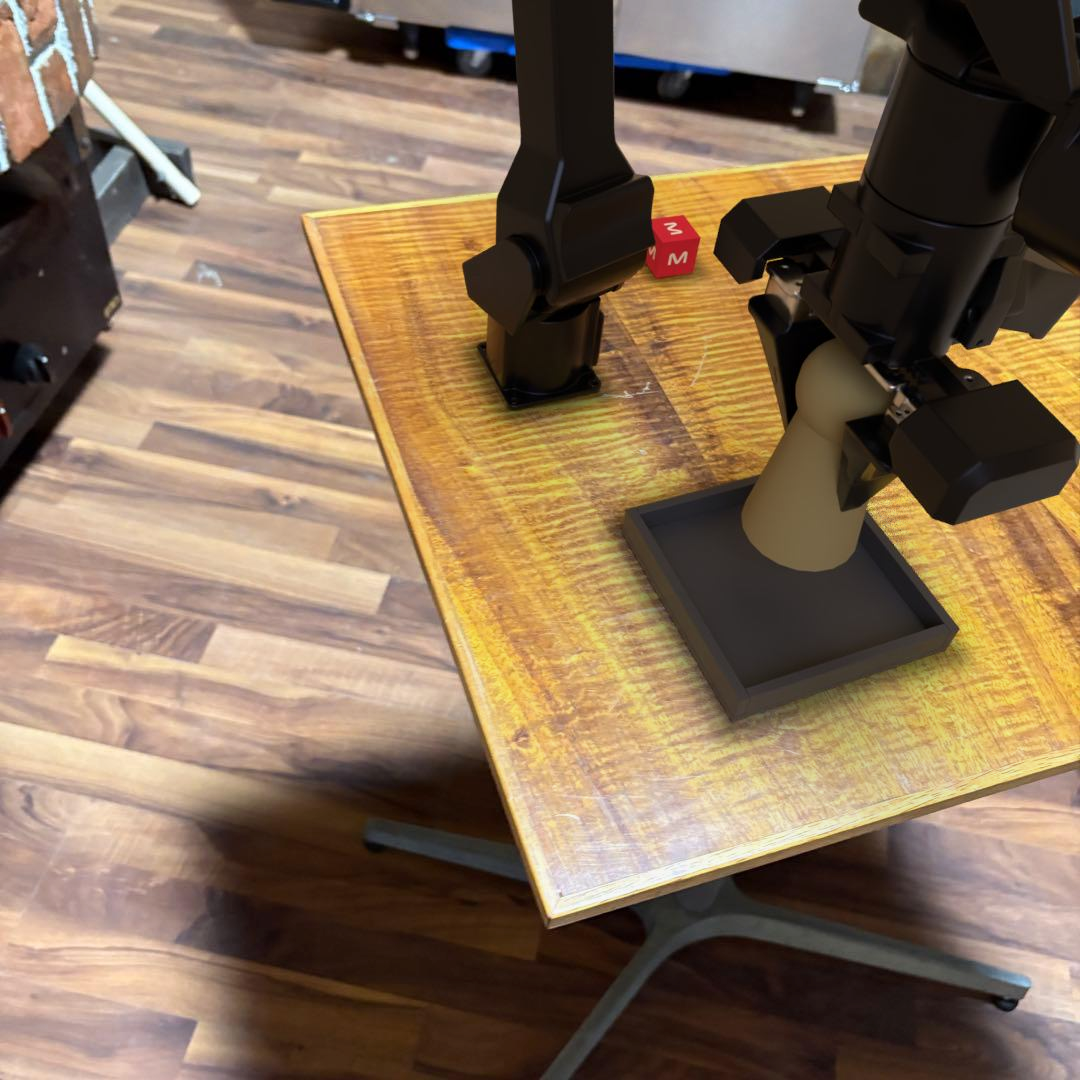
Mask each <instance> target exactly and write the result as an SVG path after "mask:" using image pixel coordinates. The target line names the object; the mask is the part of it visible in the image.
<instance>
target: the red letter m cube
mask: <svg viewBox="0 0 1080 1080" xmlns="http://www.w3.org/2000/svg"><path fill="white" fill-rule="evenodd" d="M652 229H653V233H654V237H655V241H656V245H655V246H652V247H650V248H648V251H647V258H646V262H645V263H646V264H645V265H647V267H648V268H649V270H650V271H651V273H652V274H653V276H654V277H655V278H656V279H659V278H667V277H673V276H679V275H686V274H692V273H694V270H695V265H696V261H697V257H698V251H699V247H700V242H701V236H700V235H699V233H698V232H697V231H696V229H695V228H694V226H693V225H692V224H691V223H690V221H689V220H688V219H687V217H686V216H685V215H684V214H679V215H672V216H665V217H657V218H652Z"/></svg>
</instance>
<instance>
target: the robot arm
mask: <svg viewBox="0 0 1080 1080" xmlns="http://www.w3.org/2000/svg"><path fill="white" fill-rule="evenodd" d="M614 3H615V2H614V0H511V10H512V27H513V41H514V55H515V57H514V58H515V70H516V71H515V72H516V73H515V74H516V86H517V88H516V89H517V100H518V117H519V118H518V119H519V134H520V138H519V139H520V141H519V143H520V144H519V146H518V149H517V150H516V154H515V156H514V157H513V161H512V163H511V164H510V167H509V169H508V172H507V174H506V176H505V177H504V180H503V183H502V185H501V186H500V189H499V192H498V194H497V197H496V203H495V206H496V207H495V214H496V215H495V243H494V245H492V246H490V247H488V248H486V249H484V250H482V251H481V252H479V253H478V254H476V255H474V256H472V257H471V258H468V259H467V260H464V261H463V262H462V264H461V269H462V275H463V279H464V284H465V289H466V293H467V297H468V298H469V299H470V301H472V302H473V303H474V304H475V305H477V306H478V307H479V309H481V310H482V311H483V312H484V313H485V314H486V315H487V321H486V341H481V342H479V343H478V344H477V345H476V353H477V355H478V358H479V359H480V361H481V363H482V365H483V367H484V369H485V370H486V372H487V374H488V376H489V378H490V380H491V382H492V384H493V385H494V387H495V389H496V391H497V392H498V394H499V396H500V398H501V400H502V402H503V404H504V406H505V407H506V408H507V409H508V410H509V411H511V412H512V411H513V412H516V411H517V412H518V411H521V410H526V409H530V408H535V407H539V406H543V405H544V406H545V405H548V404H552V403H557V402H562V401H567V400H573V399H576V398H580V397H584V396H590V395H593V394H598V393H600V392H601V389H602V381H601V380H600V378H599V377H598V375H597V373H596V372H595V370H594V369H593V367H596V366H598V364H599V361H600V353H601V346H602V339H603V332H604V326H605V318H606V316H605V313H604V312H603V311H602V309H601V301H602V298H601V297H602V296H604V295H607V294H609V293H615V292H618V291H620V290H621V289H622V288H623V286H624V284H625V283H626V282H627V281H629V280H631V279H632V278H633V277H635V276H636V274H638V273H639V271H641V270H643V268H644V267H645V265H646V264H645V263H646V258H647V251H648V248H650V247H652V246H655V245H656V241H655V237H654V233H653V229H652V219H653V218H652V217H653V214H652V213H653V206H654V205H653V204H654V198H655V192H656V191H655V189H656V188H655V185H654V183H653V179H652V178H651V177H650V176H649V175H646V174H640V173H636V172H635V170H634V169H633V166H632V165H631V163H630V162H629V161H628V159H627V157H626V156H625V154H624V153H623V151H622V149H621V147H620V146H619V145H618V142H617V140H616V132H615V35H614V34H615V30H614V29H615V27H614V25H615V21H614V20H615V18H614V17H615V16H614V14H615V12H614V11H615V10H614V5H615V4H614ZM857 10H858V11H857V12H858V15H859V17H860V18H862V19H863V20H864V21H866V22H867V23H870V24H871V25H873V26H876V27H877V28H880V29H882V30H884V31H886V32H888V33H889V34H891V35H892V36H895V37H897V38H899V39H900V40H902V41H904V42H905V46H904V49H903V52H902V55H901V58H900V61H899V64H898V66H897V70H896V72H895V75H894V78H893V81H892V84H891V87H890V90H889V93H888V96H887V98H886V102H885V104H884V107H883V110H882V114H881V116H880V120H879V123H878V126H877V128H876V131H875V134H874V137H873V140H872V144H871V145H870V148H869V152H868V155H867V157H866V161H865V164H864V165H863V169H862V171H861V174H860V178H859V179H858V180H854V181H847V182H841V183H836V184H833V185H832V189H831V191H829V190H828V188H827V187H826V186H825V185H818V186H812V187H811V186H810V187H804V188H800V189H799V188H798V189H795V190H794V189H793V190H787V191H781V192H775V193H769V194H763V195H758V196H757V195H756V196H751V197H746V198H741V199H740V200H739V201H738V202H737V203H736V204H735V205H734V206H733V207H732V208H731V209H730V210H728V211H727V213H725V214H724V215H723V217H722V218H720V222H719V227H718V229H717V235H716V238H715V243H714V247H713V252H712V254H713V255H714V257H715V258H716V260H718V261H719V262H720V264H721V265H722V266H723V267H724V268H725V270H726V271H727V272H728V273H729V275H730V276H731V277H732V278H733V280H734V281H735V283H737V285H739V286H740V285H745V284H750V283H753V282H755V281H758V280H761V279H763V277H764V274H765V272H766V274H767V275H768V279H767V283H766V286H765V290H764V293H761V294H756V295H752V296H751V297H750V298H749V299H748V301H747V311H748V313H749V314H750V316H751V317H752V319H753V320H754V323H755V327H756V330H757V334H758V337H759V340H760V343H761V346H762V350H763V353H764V357H765V360H766V364H767V367H768V371H769V374H770V378H771V382H772V385H773V391H774V394H775V398H776V401H777V405H778V410H779V414H780V418H781V422H782V427H783V431H784V432H785V431H786V429H787V427H788V425H789V423H790V422H791V420H792V418H793V416H794V415H795V413H796V411H797V409H798V407H797V401H796V382H797V379H798V376H799V373H800V370H801V367H802V364H803V362H804V361H805V360H806V358H807V357H808V356H809V355H810V354H811V353H812V352H813V351H814V350H815V349H816V348H817V347H818V346H820V345H821V344H823V343H825V342H827V341H829V340H832V339H834V338H837V339H838V340H839V341H840V342H841V343H842V344H843V346H844V347H845V348H846V349H847V350H848V351H849V352H850V354H851V355H852V356H853V357H854V358H855V359H856V360H857V362H858V363H859V364H860V365H861V366H863V365H864V366H865V368H866V369H867V370H868V371H869V372H870V373H871V374H872V375H873V377H874V378H875V379H876V380H877V381H878V382H879V383H880V385H881V386H882V387H883V388H884V389H885V390H886V391H887V392H890V393H895V392H897V394H896V396H895V398H894V400H893V403H894V404H895V406H889V407H888V408H887V411H886V412H882V413H878V414H874V415H870V416H866V417H862V418H858V419H854V420H850V421H846V422H845V425H844V433H843V441H842V451H841V459H840V467H839V475H838V483H837V496H838V500H839V506H840V511H841V512H846V511H849V510H853V509H856V508H859V507H860V506H862V505H863V504H864V503H866V502H867V501H868V500H869V501H870V500H871V499H872V498H873V497H875V496H876V495H877V494H879V492H881V491H882V490H884V489H885V488H886V487H887V486H888V485H890V484H891V483H892V482H893V481H895V480H896V479H898V480H900V482H902V484H903V485H904V487H905V488H906V489H907V490H908V491H909V493H910V494H911V495H912V496H913V497H914V499H915V500H916V502H918V504H919V505H920V506H921V507H922V508H923V509H924V511H925V512H926V514H928V516H929V517H930V518H931V519H932V520H935V521H938V522H941V523H944V524H946V525H950V526H957V525H960V524H961V525H962V524H964V523H967V522H971V521H975V520H977V519H982V518H985V517H988V516H992V515H994V514H998V513H1002V512H1005V511H1008V510H1012V509H1015V508H1018V507H1022V506H1026V505H1030V504H1032V503H1035V502H1039V501H1043V500H1046V499H1050V498H1053V497H1056V496H1059V495H1060V493H1061V492H1062V491H1063V489H1064V488H1065V486H1066V485H1067V484H1068V482H1069V481H1070V479H1071V478H1072V476H1073V474H1074V473H1075V472H1076V470H1077V468H1078V467H1079V464H1080V442H1079V440H1078V439H1077V437H1076V435H1074V433H1072V432H1071V430H1069V429H1068V427H1066V425H1064V423H1062V422H1061V421H1060V420H1059V419H1058V418H1057V417H1056V416H1055V415H1054V413H1052V411H1050V410H1049V409H1048V408H1047V407H1046V405H1044V404H1043V403H1042V401H1040V400H1039V399H1038V398H1037V396H1036V395H1034V394H1033V393H1032V392H1031V391H1030V390H1029V389H1028V387H1027V386H1025V385H1024V384H1023V383H1022V382H1021V381H1020V380H1019V379H1018V378H1016V379H1012V380H1008V381H1004V382H1000V383H995V384H992V383H991V382H990V381H989V380H988V379H987V378H986V377H985V376H984V375H983V374H982V373H980V372H979V371H976V370H975V369H971V368H967V367H960V366H958V365H957V364H956V363H955V362H954V361H953V360H952V359H951V358H950V357H949V356H948V355H947V353H948V352H949V351H950V348H951V346H955V345H959V344H960V345H961V346H962V347H963V348H964V349H965V350H966V351H971V350H974V349H980V348H984V347H988V346H991V345H992V343H993V341H994V340H995V337H996V335H997V334H998V332H999V330H1000V329H1001V330H1005V331H1012V332H1017V333H1023V334H1028V335H1029V337H1030V338H1031V339H1033V340H1043V339H1045V337H1046V336H1047V335H1048V334H1049V332H1050V331H1051V330H1052V329H1053V328H1054V327H1055V325H1056V324H1057V323H1058V322H1059V321H1060V320H1061V318H1062V317H1063V316H1064V315H1065V314H1066V313H1067V311H1068V310H1069V309H1070V308H1071V306H1072V305H1073V304H1074V303H1075V302H1076V301H1077V300H1078V298H1080V15H1078V16H1075V17H1074V16H1073V8H1072V0H860V1H859V3H858V6H857Z"/></svg>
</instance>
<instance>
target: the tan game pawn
mask: <svg viewBox="0 0 1080 1080" xmlns="http://www.w3.org/2000/svg"><path fill="white" fill-rule="evenodd" d="M896 394H897V392H895V393H890V392H887V391H886V390H885V389H884V388H883V387H882V386H881V385H880V383H879V382H878V381H877V380H876V379H875V378H874V377H873V375H872V374H871V373H870V372H869V371H868V370H867V369H866V368H865V366H864V365H863V366H861V365H860V364H859V363H858V362H857V360H856V359H855V358H854V357H853V356H852V355H851V354H850V352H849V351H848V350H847V349H846V348H845V347H844V346H843V344H842V343H841V342H840V341H839V340H838V339H837V338H834V339H832V340H829V341H827V342H825V343H823V344H821V345H820V346H818V347H817V348H816V349H815V350H814V351H813V352H812V353H811V354H810V355H809V356H808V357H807V358H806V360H805V361H804V362H803V364H802V367H801V370H800V373H799V376H798V379H797V382H796V401H797V407H798V409H797V411H796V413H795V415H794V416H793V418H792V420H791V422H790V423H789V425H788V427H787V429H786V431H784V432H783V434H782V436H781V437H780V439H779V441H778V443H777V445H776V446H775V448H774V450H773V452H772V453H771V455H770V456H769V459H768V461H767V463H766V465H765V466H764V468H763V469H762V472H761V473H760V474H761V475H760V474H759V475H760V477H759V478H758V480H757V482H756V484H755V486H754V487H753V489H752V491H751V493H750V494H749V496H748V498H747V500H746V502H745V504H744V507H743V510H742V513H741V516H742V525H743V529H744V531H745V533H746V535H747V537H748V539H749V541H750V542H751V543H752V544H753V545H754V546H755V547H756V548H757V549H758V550H759V551H760V552H761V553H762V554H763V555H765V556H766V557H768V558H769V559H771V560H773V561H774V562H776V563H778V564H780V565H783V566H786V567H789V568H792V569H795V570H801V571H813V572H817V571H823V570H828V569H833V568H835V567H837V566H839V565H841V564H843V563H844V562H846V561H847V560H848V559H849V558H850V556H851V555H852V554H853V553H854V551H855V549H856V545H857V542H858V538H859V534H860V531H861V527H862V523H863V520H864V516H865V512H866V510H867V509H868V505H869V501H870V499H869V500H868V501H867V502H866V503H864V504H863V505H862V506H860V507H859V508H856V509H853V510H849V511H846V512H841V511H840V506H839V500H838V496H837V483H838V475H839V467H840V459H841V451H842V441H843V433H844V425H845V422H846V421H850V420H854V419H858V418H862V417H866V416H870V415H874V414H878V413H882V412H886V411H887V408H888V407H889V406H895V404H894V403H893V400H894V398H895V396H896Z"/></svg>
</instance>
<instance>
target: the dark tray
mask: <svg viewBox="0 0 1080 1080" xmlns="http://www.w3.org/2000/svg"><path fill="white" fill-rule="evenodd" d="M760 475H761V473H759V474H757V475H752V476H750V477H745V478H741V479H737V480H733V481H729V482H726V483H722V484H717V485H714V486H710V487H706V488H703V489H700V490H695V491H690V492H687V493H683V494H679V495H676V496H675V495H674V496H671V497H669V498H664V499H660V500H656V501H651V502H649V503H645V504H641V505H636V506H631V507H629V508H625V512H624V516H623V521H622V527H621V534H622V535H623V537H624V539H625V541H626V542H627V544H628V546H629V548H630V549H631V551H632V553H633V555H634V557H635V558H636V560H637V562H638V563H639V565H640V567H641V569H642V571H643V572H644V574H645V576H646V577H647V579H648V580H649V582H650V585H651V586H652V588H653V589H654V591H655V592H656V594H657V596H658V598H659V600H660V601H661V603H662V605H663V607H664V608H665V610H666V611H667V613H668V615H669V617H670V619H671V621H672V622H673V624H674V625H675V627H676V629H677V630H678V632H679V634H680V636H681V638H682V639H683V641H684V643H685V644H686V647H687V648H688V649H689V651H690V653H691V655H692V656H693V658H694V660H695V661H696V663H697V665H698V667H699V669H700V670H701V673H702V674H703V675H704V677H705V679H706V681H707V683H708V684H709V686H710V688H711V689H712V691H713V693H714V695H715V696H716V698H717V700H718V701H719V703H720V705H721V707H722V708H723V710H724V712H725V714H726V715H727V717H728V719H729V720H730V722H731V723H734V722H736V721H737V722H738V721H739V720H743V719H745V718H749V717H751V716H754V715H757V714H760V713H763V712H766V711H769V710H772V709H775V708H778V707H781V706H784V705H787V704H790V703H792V702H796V701H800V700H802V699H805V698H808V697H811V696H814V695H816V694H820V693H823V692H826V691H828V690H832V689H835V688H837V687H841V686H844V685H847V684H849V683H853V682H855V681H859V680H862V679H864V678H868V677H870V676H873V675H876V674H879V673H882V672H885V671H888V670H891V669H894V668H898V667H900V666H903V665H905V664H909V663H912V662H915V661H918V660H921V659H924V658H926V657H927V658H928V657H929V656H932V655H935V654H938V653H941V652H944V651H947V649H948V648H949V646H950V645H951V643H952V642H953V640H954V639H955V637H956V636H957V635H958V633H959V632H960V629H961V628H960V627H959V626H958V624H957V623H956V622H955V621H954V618H952V616H950V614H949V613H948V612H947V610H946V609H945V608H944V606H943V605H942V604H941V603H940V601H939V600H938V599H937V598H936V596H935V595H934V594H933V593H932V591H931V590H930V589H929V588H928V586H927V585H926V583H925V582H924V581H923V579H921V577H920V576H919V575H918V574H917V572H916V571H915V569H914V568H913V567H912V566H911V564H910V563H909V562H908V561H907V559H906V558H905V556H903V554H902V553H901V552H900V551H899V549H898V548H897V547H896V545H895V544H894V543H893V542H892V540H891V539H890V538H889V536H888V535H887V534H886V533H885V532H884V530H883V529H882V528H881V526H880V525H879V524H878V522H877V521H876V520H875V519H874V518H873V516H872V515H871V513H870V512H869V511H868V510H867V509H866V512H865V516H864V520H863V523H862V527H861V531H860V534H859V538H858V542H857V545H856V549H855V551H854V553H853V554H852V555H851V556H850V558H849V559H848V560H847V561H846V562H844V563H843V564H841V565H839V566H837V567H835V568H833V569H828V570H823V571H817V572H813V571H801V570H795V569H792V568H789V567H786V566H783V565H780V564H778V563H776V562H774V561H773V560H771V559H769V558H768V557H766V556H765V555H763V554H762V553H761V552H760V551H759V550H758V549H757V548H756V547H755V546H754V545H753V544H752V543H751V542H750V541H749V539H748V537H747V535H746V533H745V531H744V529H743V525H742V516H741V513H742V510H743V507H744V504H745V502H746V500H747V498H748V496H749V494H750V493H751V491H752V489H753V487H754V486H755V484H756V482H757V480H758V478H759V477H760Z"/></svg>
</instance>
